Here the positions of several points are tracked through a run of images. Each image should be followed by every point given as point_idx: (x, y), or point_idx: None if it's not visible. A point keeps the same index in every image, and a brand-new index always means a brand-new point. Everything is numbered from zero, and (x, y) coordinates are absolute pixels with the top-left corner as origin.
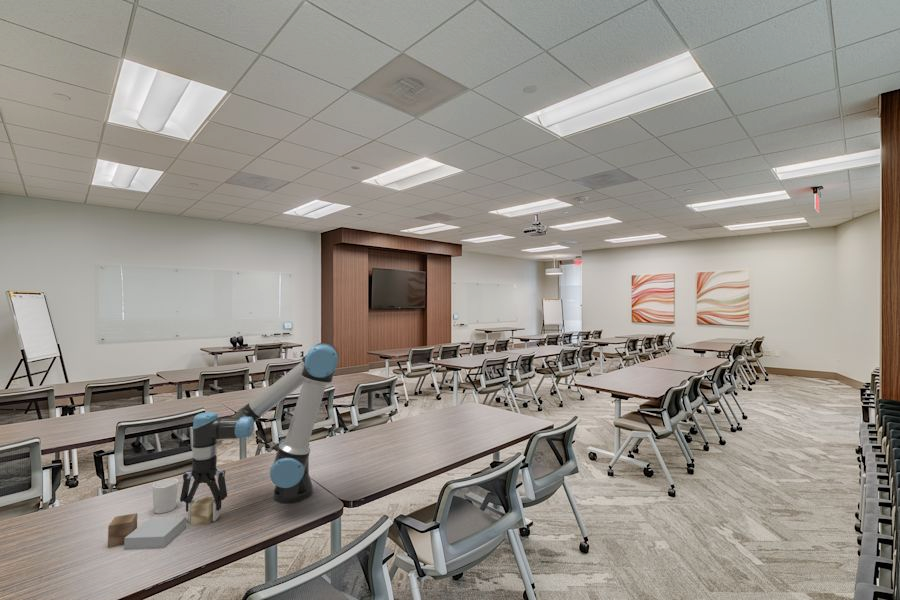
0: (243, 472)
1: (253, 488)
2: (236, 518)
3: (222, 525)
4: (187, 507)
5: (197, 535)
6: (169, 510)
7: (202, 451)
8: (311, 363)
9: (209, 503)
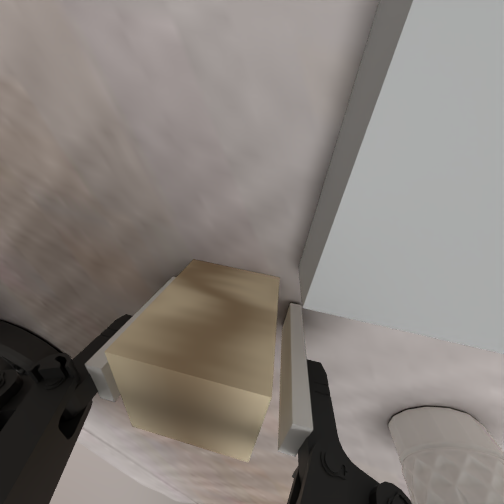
0: (234, 482)
1: None
2: (99, 275)
3: (120, 231)
4: (318, 392)
5: (193, 148)
6: (412, 413)
7: None
8: None
9: (114, 369)
